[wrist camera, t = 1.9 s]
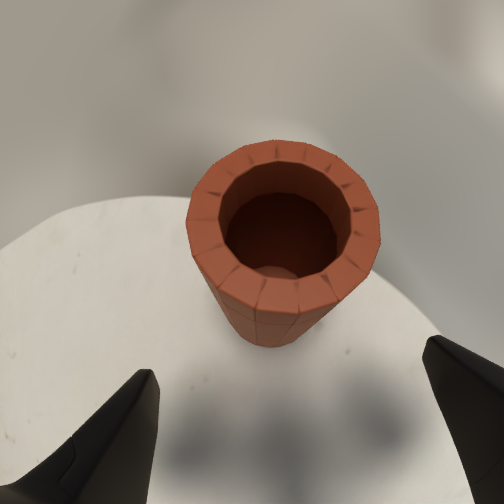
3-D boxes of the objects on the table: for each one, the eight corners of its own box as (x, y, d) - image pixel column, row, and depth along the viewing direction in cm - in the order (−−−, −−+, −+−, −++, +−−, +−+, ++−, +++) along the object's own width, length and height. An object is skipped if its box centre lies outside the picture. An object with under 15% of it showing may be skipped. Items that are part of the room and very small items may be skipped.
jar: (325, 331, 20) (410, 276, 8) (239, 357, 19) (211, 339, 8) (298, 253, 22) (334, 128, 10) (217, 275, 21) (174, 162, 10)
